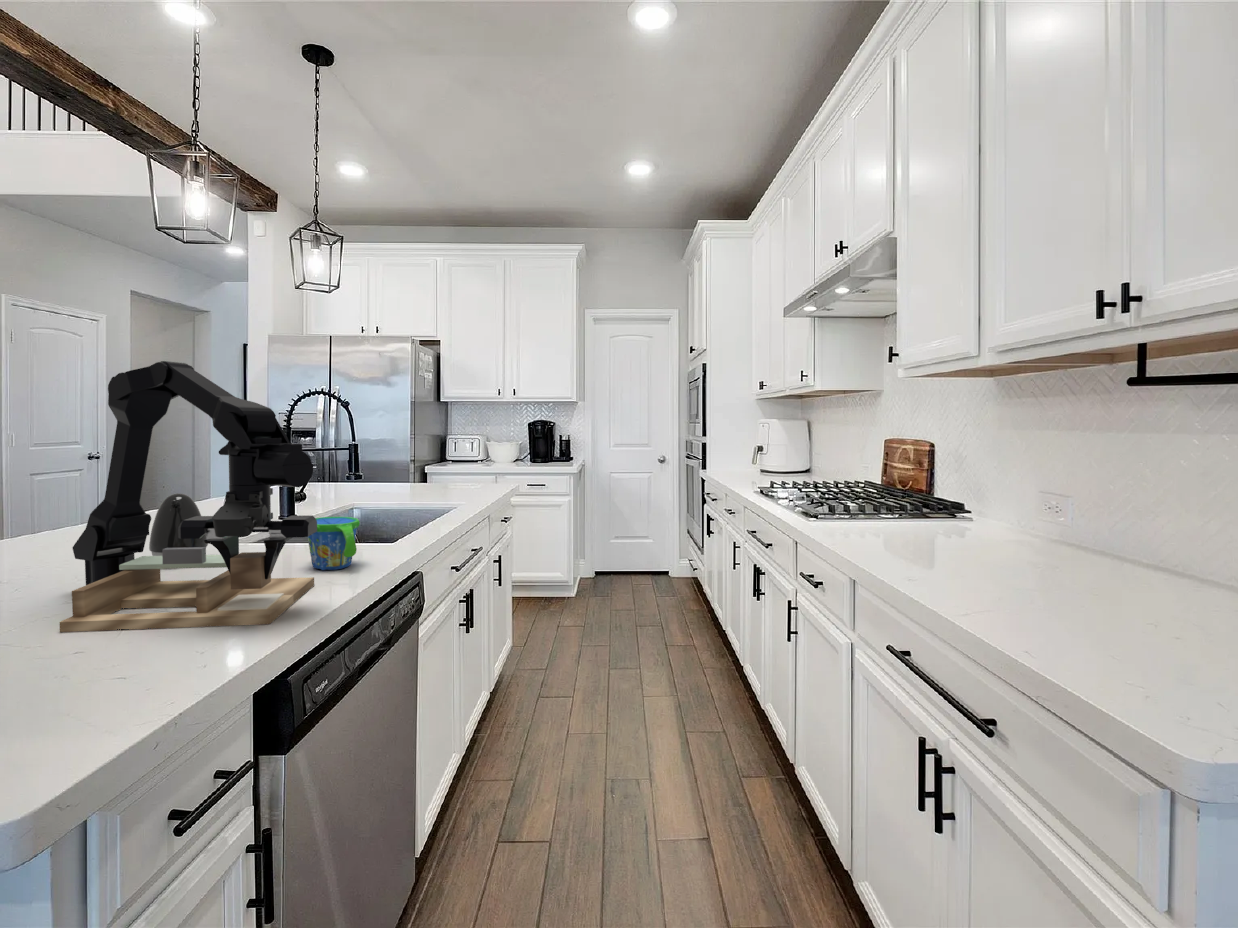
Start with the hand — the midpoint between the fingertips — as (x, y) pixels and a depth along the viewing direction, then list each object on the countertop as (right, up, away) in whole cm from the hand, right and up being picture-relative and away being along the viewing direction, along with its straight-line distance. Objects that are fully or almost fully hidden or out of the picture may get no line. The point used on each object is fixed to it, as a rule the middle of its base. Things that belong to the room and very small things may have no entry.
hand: (251, 579), depth 100 cm
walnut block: (0, -1, 0) cm, 1 cm away
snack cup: (-2, -4, +32) cm, 32 cm away
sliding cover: (-15, +1, +8) cm, 17 cm away
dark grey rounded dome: (-34, -3, +31) cm, 46 cm away
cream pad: (0, -4, 0) cm, 4 cm away
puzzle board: (-10, -5, +3) cm, 11 cm away
